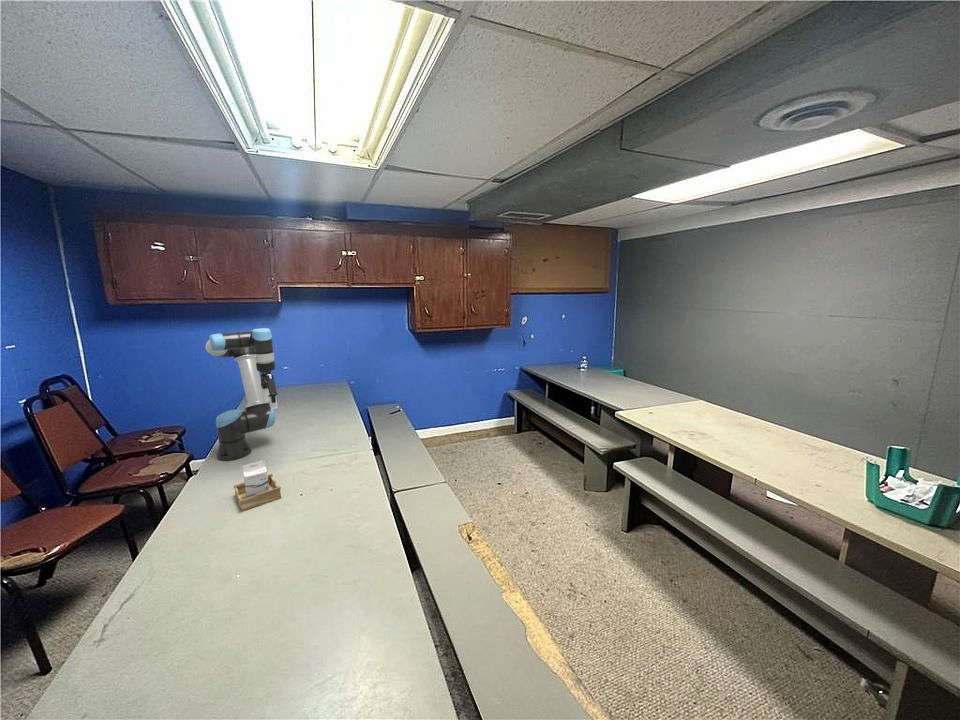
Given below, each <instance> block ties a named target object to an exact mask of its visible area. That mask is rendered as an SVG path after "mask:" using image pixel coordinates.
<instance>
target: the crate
mask: <svg viewBox="0 0 960 720" xmlns="http://www.w3.org/2000/svg"><path fill="white" fill-rule="evenodd" d="M268 482H269V490H268V491H265V492H262V493H259V494H256V495H253V496H250V497H246V490H245V483H244V482H241V483H237V484H235V485H233V489H234V494H235V497H236V500H237V502H238V505H239V508H240V512H241V513H242V512H247V511H248V510H251V509H254V508H257V507H260V506H262V505H267V504H268V503H271V502H274V501H277V500H280V499H282V493H281V486H280V485H279V484H278V483H277V481H276V479H275V478H274V476H273V473H270V474H268Z"/></svg>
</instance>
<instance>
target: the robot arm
mask: <svg viewBox="0 0 960 720" xmlns="http://www.w3.org/2000/svg"><path fill="white" fill-rule="evenodd" d="M204 348H205V352H207V353H208V355H210V356H211V357H216V358H233V360H234V361H235V362H237V363H238V366H239V371H240V376H241V381H242V385H243V390H244V391H243V392H244V393H245V400H246V406H245V407H244V409H245V410H244V411H242V410H241V409H230V410H227V411H224V412H222V413H220V414H219V415H217V417H216V418H215V427H216V430H217V438H218V447H217V452H216V457H217V460H219V461H223V462H229V461H235V460H240V459H242V458H244V457H246V456H249V454H250V453H252V447H251V445H250V443H249V441H248V440H247V438H246V434H248V433H252V432H257V431H260V430H266V429H269V428H271V427H274V425H275V423H276V411H275V410H276V409H278V399H277V396H278V392H277V388H276V383H275V378H274V374H273V373H272V372H271V371H274V370H276V363H275V352H274V347H273V335H272V330H271V329H270V328H268V327H267V328H266V327H262V328H254V329H252V330H248V331H237V332H226V333H225V332H224V333H220V332H219V333H218V332H217V333H215V334H214V333H212V334H211V335H209V339H208V340H207V341H206V342H205V345H204Z"/></svg>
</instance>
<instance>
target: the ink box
mask: <svg viewBox="0 0 960 720" xmlns="http://www.w3.org/2000/svg"><path fill="white" fill-rule="evenodd" d="M265 462H266V461H265V460H260V461H256V462H251V463H247V464H244V465H242V471H243V472H242V474H243V483H245V490H246V497H250V496H253V495H256V494H259V493H262V492H265V491H268V490H269V482H268V475H269V474H268V470H267V467H266V463H265Z"/></svg>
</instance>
